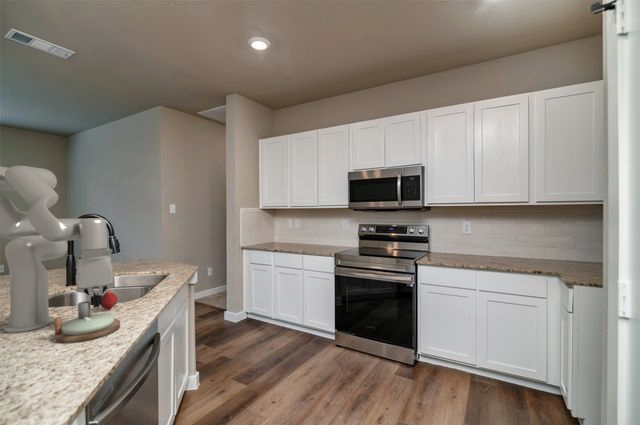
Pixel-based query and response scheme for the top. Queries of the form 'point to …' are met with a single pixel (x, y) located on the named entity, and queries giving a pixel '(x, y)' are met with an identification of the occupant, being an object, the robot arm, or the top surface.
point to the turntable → (87, 321)
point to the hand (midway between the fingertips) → (96, 306)
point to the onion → (108, 300)
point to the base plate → (83, 337)
